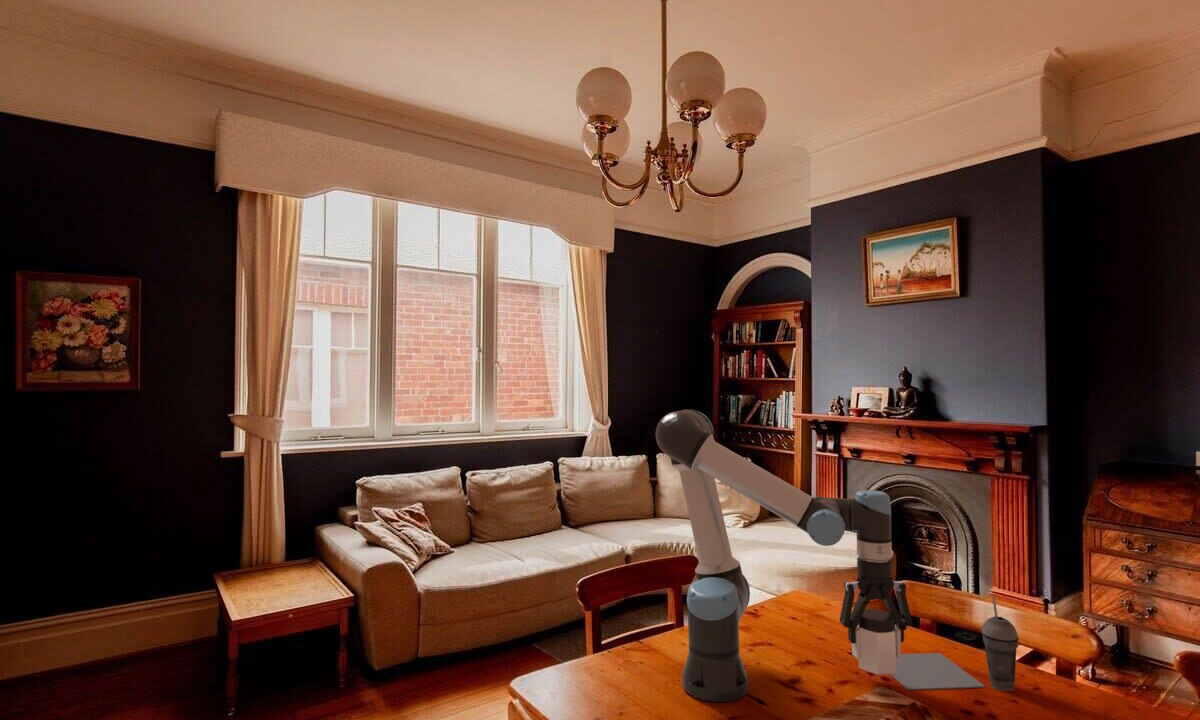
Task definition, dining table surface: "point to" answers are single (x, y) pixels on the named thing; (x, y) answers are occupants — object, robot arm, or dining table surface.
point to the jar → (877, 642)
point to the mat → (931, 673)
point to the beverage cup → (1000, 651)
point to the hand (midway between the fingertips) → (876, 656)
